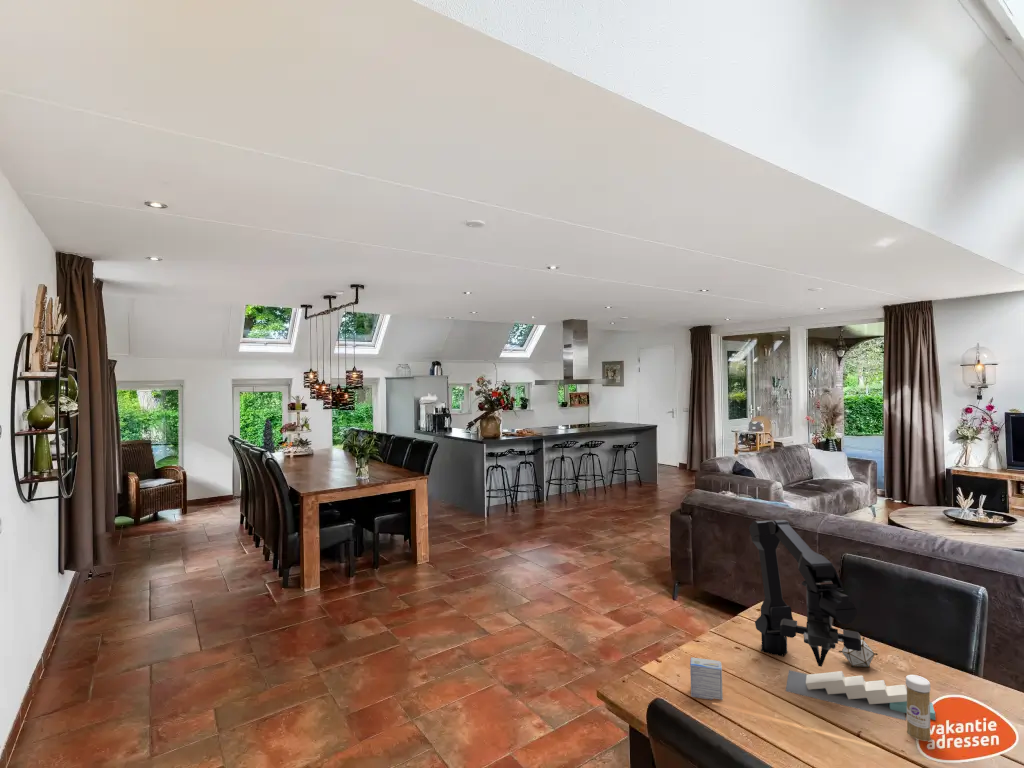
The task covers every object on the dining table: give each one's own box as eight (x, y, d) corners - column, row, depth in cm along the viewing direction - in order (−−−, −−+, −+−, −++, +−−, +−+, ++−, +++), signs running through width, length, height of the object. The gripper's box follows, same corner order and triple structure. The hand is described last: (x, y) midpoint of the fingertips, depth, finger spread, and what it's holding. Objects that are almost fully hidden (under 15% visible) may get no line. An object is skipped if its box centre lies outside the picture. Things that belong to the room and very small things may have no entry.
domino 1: (805, 683, 145) (842, 679, 140) (806, 674, 149) (842, 671, 145) (808, 689, 144) (845, 686, 140) (809, 680, 149) (844, 677, 144)
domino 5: (889, 702, 135) (935, 713, 131) (888, 692, 140) (932, 702, 135) (889, 709, 135) (935, 720, 131) (888, 699, 140) (932, 709, 135)
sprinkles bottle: (905, 738, 125) (904, 679, 125) (907, 728, 129) (906, 671, 129) (931, 746, 122) (929, 686, 122) (932, 736, 126) (930, 678, 126)
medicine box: (722, 693, 145) (721, 660, 145) (722, 702, 140) (722, 669, 141) (691, 688, 147) (690, 656, 147) (690, 697, 143) (690, 664, 143)
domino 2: (825, 688, 142) (863, 684, 138) (825, 679, 147) (862, 675, 142) (828, 694, 142) (866, 691, 138) (828, 685, 146) (865, 681, 142)
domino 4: (866, 697, 138) (907, 694, 133) (865, 688, 142) (905, 684, 138) (869, 704, 137) (910, 701, 133) (868, 694, 142) (907, 691, 137)
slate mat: (785, 693, 144) (785, 690, 144) (788, 672, 154) (788, 670, 154) (906, 722, 131) (905, 720, 131) (900, 697, 141) (900, 695, 141)
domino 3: (845, 692, 140) (885, 689, 136) (845, 683, 144) (883, 679, 140) (848, 699, 140) (887, 696, 135) (848, 689, 144) (886, 686, 140)
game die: (859, 676, 158) (872, 644, 161) (875, 680, 150) (888, 647, 153) (829, 657, 161) (842, 626, 163) (842, 661, 153) (856, 628, 155)
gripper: (777, 611, 143) (778, 670, 143) (861, 626, 134) (862, 690, 133) (781, 597, 153) (782, 652, 153) (859, 610, 143) (861, 669, 143)
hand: (820, 665), depth 145 cm, fingers closed
